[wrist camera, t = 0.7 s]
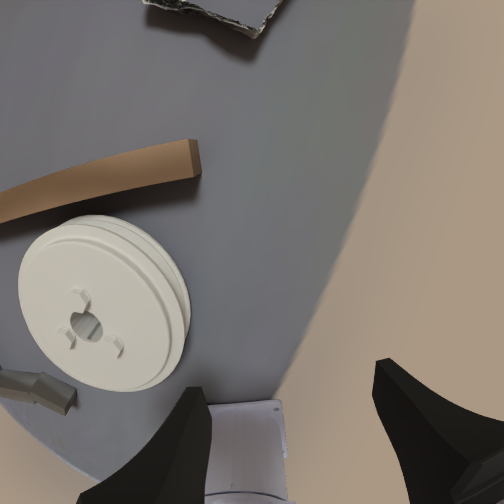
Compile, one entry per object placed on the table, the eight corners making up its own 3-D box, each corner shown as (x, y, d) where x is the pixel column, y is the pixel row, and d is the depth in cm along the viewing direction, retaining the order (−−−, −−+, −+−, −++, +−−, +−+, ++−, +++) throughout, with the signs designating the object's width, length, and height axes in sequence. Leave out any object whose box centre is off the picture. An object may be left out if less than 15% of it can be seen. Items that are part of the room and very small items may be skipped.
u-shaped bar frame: (244, 395, 24) (244, 421, 21) (7, 386, 25) (-5, 402, 22) (197, 139, 18) (187, 138, 15) (-61, 221, 19) (-80, 230, 16)
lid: (194, 371, 24) (186, 417, 19) (59, 350, 23) (34, 384, 18) (193, 214, 20) (176, 237, 15) (33, 210, 19) (-9, 228, 14)
